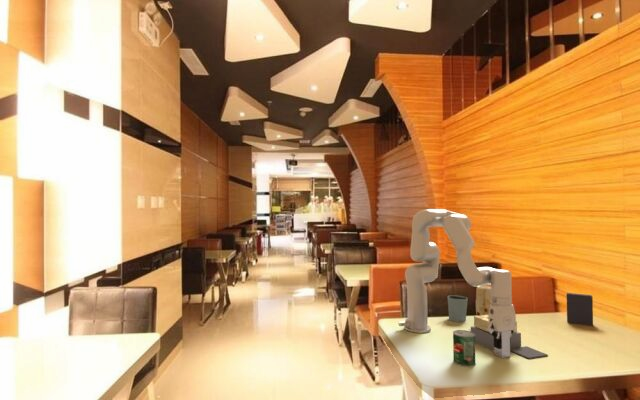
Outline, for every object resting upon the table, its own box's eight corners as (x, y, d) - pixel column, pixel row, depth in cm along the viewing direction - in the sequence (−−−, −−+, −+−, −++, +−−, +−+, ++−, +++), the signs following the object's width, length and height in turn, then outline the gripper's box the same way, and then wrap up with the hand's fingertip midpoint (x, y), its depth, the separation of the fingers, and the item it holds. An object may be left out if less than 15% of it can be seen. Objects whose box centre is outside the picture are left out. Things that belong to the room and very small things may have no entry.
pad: (528, 359, 145) (528, 357, 145) (508, 350, 155) (508, 348, 155) (547, 356, 148) (547, 354, 148) (526, 347, 158) (526, 346, 158)
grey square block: (494, 351, 154) (494, 336, 154) (470, 340, 167) (470, 326, 167) (521, 347, 158) (520, 333, 158) (496, 337, 171) (495, 323, 172)
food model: (491, 324, 192) (491, 284, 192) (499, 328, 185) (498, 287, 186) (473, 324, 191) (473, 285, 192) (479, 328, 184) (479, 287, 185)
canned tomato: (480, 363, 141) (479, 334, 141) (466, 368, 136) (466, 337, 137) (461, 357, 147) (461, 328, 148) (448, 361, 143) (448, 332, 143)
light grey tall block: (502, 358, 146) (501, 329, 146) (494, 354, 150) (493, 326, 150) (510, 356, 147) (509, 328, 148) (502, 353, 151) (501, 325, 152)
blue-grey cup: (443, 318, 202) (443, 296, 203) (458, 316, 206) (457, 294, 207) (457, 323, 193) (457, 299, 193) (472, 321, 197) (471, 298, 197)
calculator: (592, 324, 192) (591, 294, 193) (593, 326, 188) (592, 296, 189) (567, 320, 198) (566, 292, 199) (567, 322, 194) (566, 293, 195)
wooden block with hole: (494, 334, 155) (494, 323, 155) (474, 326, 167) (474, 316, 167) (520, 331, 159) (519, 320, 160) (498, 323, 171) (498, 313, 171)
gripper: (491, 304, 143) (492, 352, 143) (525, 301, 148) (526, 348, 148) (477, 300, 150) (478, 346, 150) (510, 297, 156) (511, 342, 155)
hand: (502, 346), depth 149 cm, fingers closed on light grey tall block, 4 cm apart
